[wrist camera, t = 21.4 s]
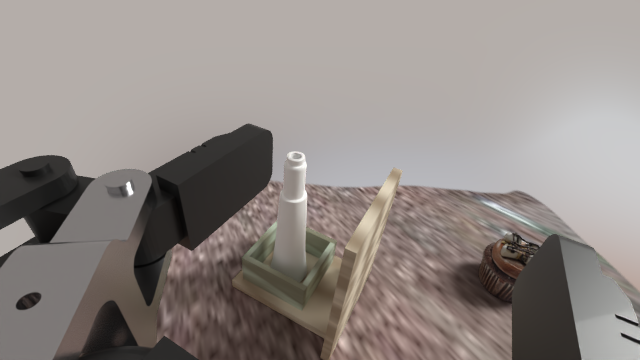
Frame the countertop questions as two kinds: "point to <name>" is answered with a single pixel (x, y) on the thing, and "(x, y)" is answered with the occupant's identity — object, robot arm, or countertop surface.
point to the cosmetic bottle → (292, 220)
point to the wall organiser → (319, 273)
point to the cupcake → (505, 264)
